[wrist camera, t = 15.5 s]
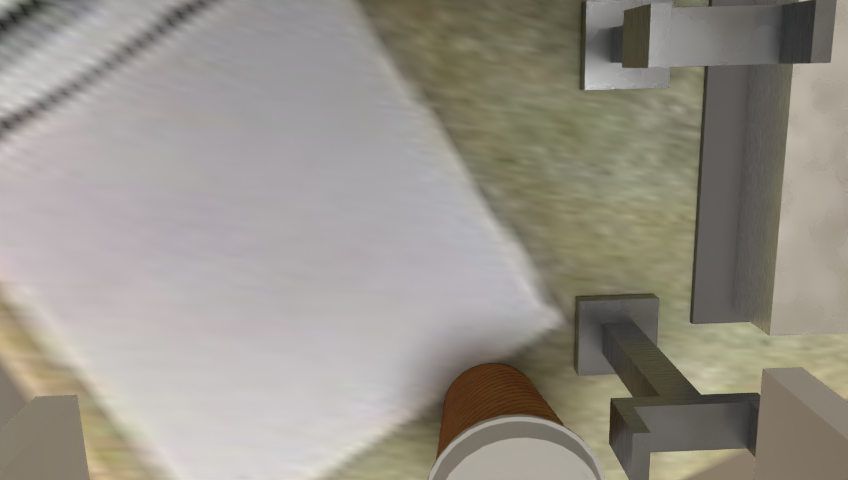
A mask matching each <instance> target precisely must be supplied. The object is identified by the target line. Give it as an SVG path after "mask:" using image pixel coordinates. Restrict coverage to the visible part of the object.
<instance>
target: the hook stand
mask: <svg viewBox="0 0 848 480" xmlns="http://www.w3.org/2000/svg"><path fill="white" fill-rule="evenodd" d="M836 4H837V0H808V1H802V2H796V3H790V4H784V5H750V6H712V7H674V8H673V0H596V1H585V2H582V46H581V90H605V89H640V88H669V80H670V67H683V66H718V65H753V64H808V63H831V55H832V44H833V34H834V24H835V14H836ZM658 306H659V298H658V297H657V296H655V295H654V294H634V295H606V296H578V297H576V325H575V371H576V373H577V374H578V376H579V375H605V374H617V375H618V376H619V378H620V379H621V380H622V382H623V383H624V385H625V386H626V388H627V389H628V390H629V392H630V393H631V395H632V396H633V397H632V398H611V403H610V433H609V444H610V446H611V448H612V449H613V451H614V453H615V455H616V457H617V458H618V460H619V462H620V464H621V466H622V467H623V469H624V471H625V473H626V475H627V476H628V478H629V480H649V465H650V452H670V451H694V450H719V449H743V448H747V449H748V450H749V451H750V452H751V453H752V454H753V455H754V457H755V454H756V442H757V430H758V418H759V406H760V395H759V394H758V393H735V394H709V395H701V394H700V393H699V392H698V391H697V390H696V389H695V388H694V387H693V386H692V384H691V383H690V382H689V381H688V380H687V379H686V378H685V377H684V376H683V375H682V374H681V372H680V371H679V370H678V369H677V368H676V367H675V366H674V365H673V364H672V363H671V362H670V360H669V359H668V358H667V357H666V356H665V355H664V354H663V353H662V352H661V351H660V350H659V348H658V347H657V326H658Z"/></svg>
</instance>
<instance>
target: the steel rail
mask: <svg viewBox="0 0 848 480" xmlns="http://www.w3.org/2000/svg"><path fill="white" fill-rule="evenodd" d="M802 1H808V0H754V5H784V4H790V3H796V2H802ZM732 309H733V310H735V311H736V312H737V313H739V314H740V315H741V316H743V317H744V318H746V319H747V320H748V321H750V322H751V323H752V324H754V325H755V326H757V327H758V328H759V329H761V330H762V331H763V332H765V333H766V334H767V335H769V336H786V335H813V334H840V333H848V0H837V4H836V14H835V24H834V34H833V44H832V55H831V63H808V64H753V65H749V75H748V89H747V103H746V116H745V130H744V144H743V158H742V171H741V185H740V199H739V212H738V226H737V240H736V254H735V267H734V281H733V295H732Z"/></svg>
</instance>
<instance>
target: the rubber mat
mask: <svg viewBox="0 0 848 480" xmlns="http://www.w3.org/2000/svg"><path fill="white" fill-rule="evenodd" d="M750 5H754V0H709V7H712V6H750ZM748 75H749V65H718V66H706V67H705V84H704V100H703V117H702V134H701V151H700V168H699V184H698V201H697V218H696V235H695V251H694V268H693V285H692V302H691V318H690V322H691V323H692V324H705V323H732V322H750V321H748V320H747V319H746V318H744V317H743V316H741V315H740V314H739V313H737V312H736V311H735V310H733V309H732V295H733V281H734V267H735V254H736V240H737V226H738V212H739V199H740V185H741V171H742V158H743V144H744V130H745V116H746V103H747V89H748Z"/></svg>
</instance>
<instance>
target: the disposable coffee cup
mask: <svg viewBox="0 0 848 480" xmlns="http://www.w3.org/2000/svg"><path fill="white" fill-rule="evenodd" d="M428 480H605V477H604V473H603V470H602V468H601V465H600V463H599V460H598V459H597V457H596V456H595V454H594V453H593V451H592V450H591V449H590V447H589V446H588V445H587V444H586V443H585V442H584V441H583V440H582V438H581V437H579V436H578V435H576V434H575V433H574V432H572V431H571V430H570V429H568V428H567V427H565V426H564V425H563V423H562V422H561V421H560V419H559V418H558V417H557V415H556V414H555V413H554V411H553V410H552V409H551V408H550V406H549V405H548V404H547V402H546V401H545V400H544V399H543V398H542V396H541V395H540V394H539V392H538V391H537V390H536V388H535V387H534V386H533V384H532V383H531V381H530V380H529V379H528V378H527V377H526V376H525V375H524V374H523V373H521V372H519V371H518V370H516V369H515V368H512V367H510V366H507V365H502V364H483V365H479V366H476V367H473V368H471V369H469V370H467V371H466V372H464V373H462V374H461V375H460V376H459V377H458V378H457V379H456V380H455V381H454V382H453V384H452V385H451V387H450V388H449V390H448V392H447V394H446V398H445V402H444V410H443V416H442V423H441V429H440V437H439V445H438V452H437V458H436V462H435V463H434V465H433V467H432V470H431V472H430V475H429V477H428Z"/></svg>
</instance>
